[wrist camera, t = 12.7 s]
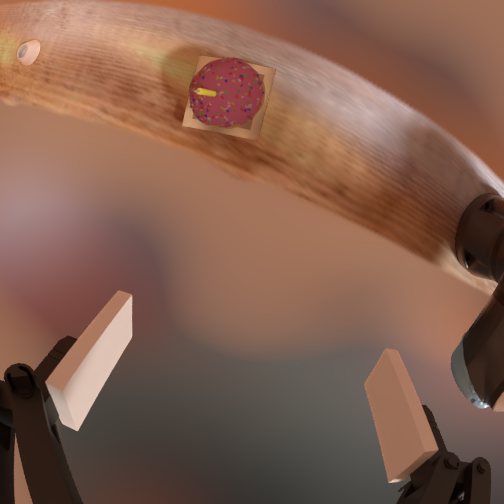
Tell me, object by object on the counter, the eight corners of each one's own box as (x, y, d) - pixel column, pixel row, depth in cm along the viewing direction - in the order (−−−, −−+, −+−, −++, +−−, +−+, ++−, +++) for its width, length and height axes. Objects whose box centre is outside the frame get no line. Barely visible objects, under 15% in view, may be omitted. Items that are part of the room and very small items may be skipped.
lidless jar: (44, 51, 33) (37, 35, 31) (34, 49, 30) (28, 32, 28) (26, 71, 34) (20, 54, 32) (16, 69, 31) (10, 52, 29)
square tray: (275, 73, 35) (276, 68, 33) (257, 140, 39) (257, 141, 36) (203, 59, 35) (199, 54, 32) (186, 126, 38) (181, 125, 36)
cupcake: (213, 140, 36) (192, 142, 25) (186, 84, 34) (155, 65, 23) (275, 113, 35) (281, 103, 24) (248, 56, 32) (241, 25, 21)
